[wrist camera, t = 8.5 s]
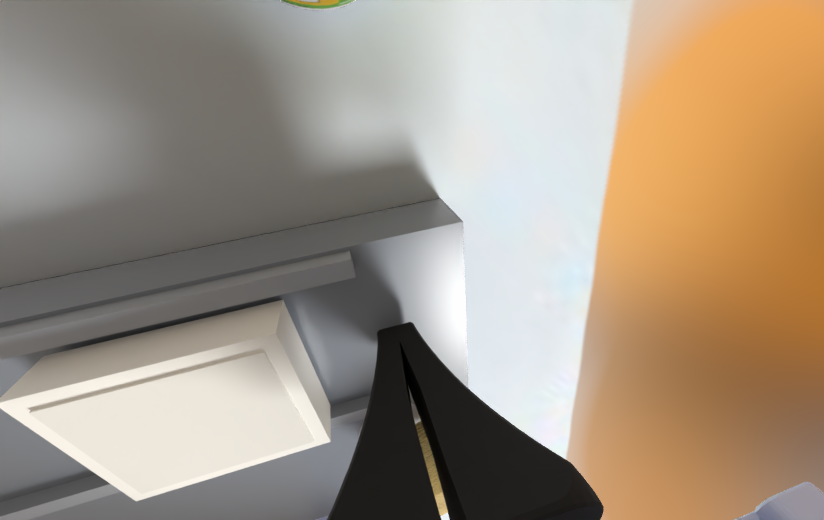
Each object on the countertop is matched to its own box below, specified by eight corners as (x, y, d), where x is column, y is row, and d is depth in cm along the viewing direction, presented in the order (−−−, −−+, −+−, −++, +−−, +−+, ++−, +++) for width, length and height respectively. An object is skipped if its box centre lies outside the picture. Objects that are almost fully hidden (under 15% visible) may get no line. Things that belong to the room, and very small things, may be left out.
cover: (330, 405, 13) (330, 444, 12) (157, 455, 12) (134, 504, 11) (283, 299, 10) (275, 336, 9) (43, 356, 9) (-10, 407, 8)
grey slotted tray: (457, 430, 22) (476, 483, 19) (76, 552, 19) (29, 639, 16) (440, 198, 13) (474, 233, 10) (-348, 359, 9) (-669, 492, 6)
